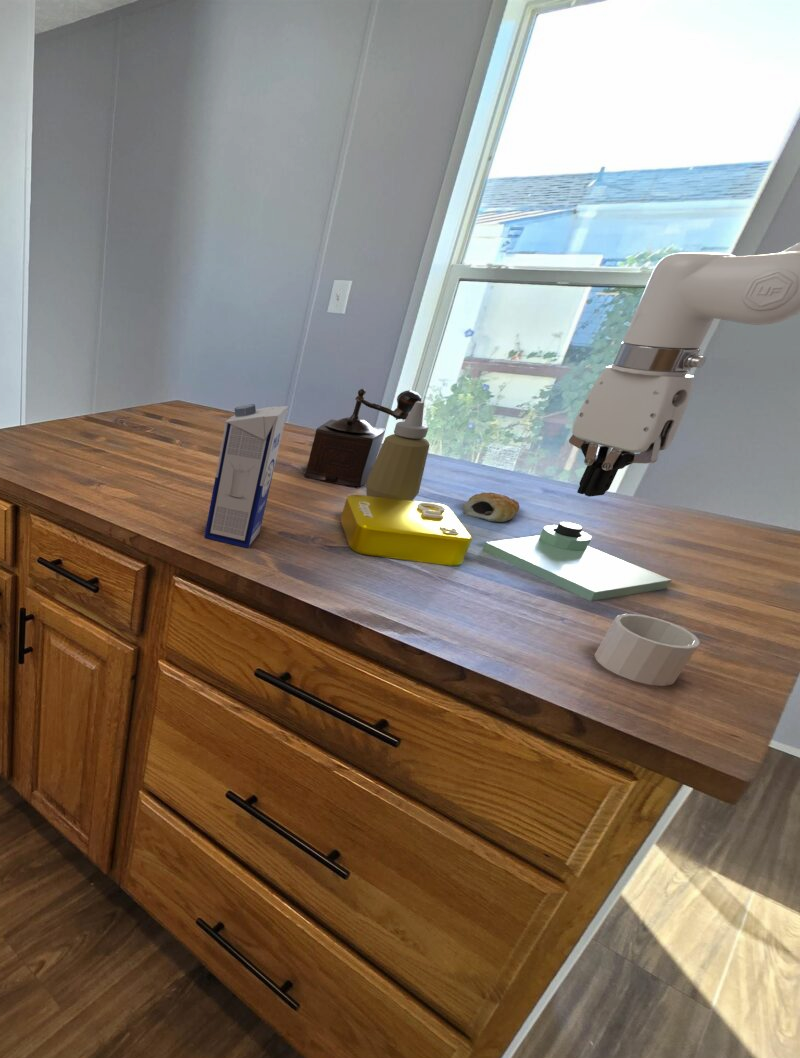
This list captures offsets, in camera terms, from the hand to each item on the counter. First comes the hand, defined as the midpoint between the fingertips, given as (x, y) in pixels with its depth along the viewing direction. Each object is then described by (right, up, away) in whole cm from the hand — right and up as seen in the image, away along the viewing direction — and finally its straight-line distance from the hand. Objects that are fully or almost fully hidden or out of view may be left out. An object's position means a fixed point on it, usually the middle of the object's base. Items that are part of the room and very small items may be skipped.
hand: (590, 493), depth 94 cm
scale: (-3, -11, 0) cm, 11 cm away
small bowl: (-16, -23, -22) cm, 36 cm away
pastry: (-2, -1, +17) cm, 17 cm away
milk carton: (-49, -5, +8) cm, 50 cm away
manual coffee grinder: (-17, +8, +32) cm, 37 cm away
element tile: (-23, -6, +7) cm, 25 cm away
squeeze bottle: (-18, +1, +19) cm, 27 cm away
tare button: (0, -6, +4) cm, 7 cm away
